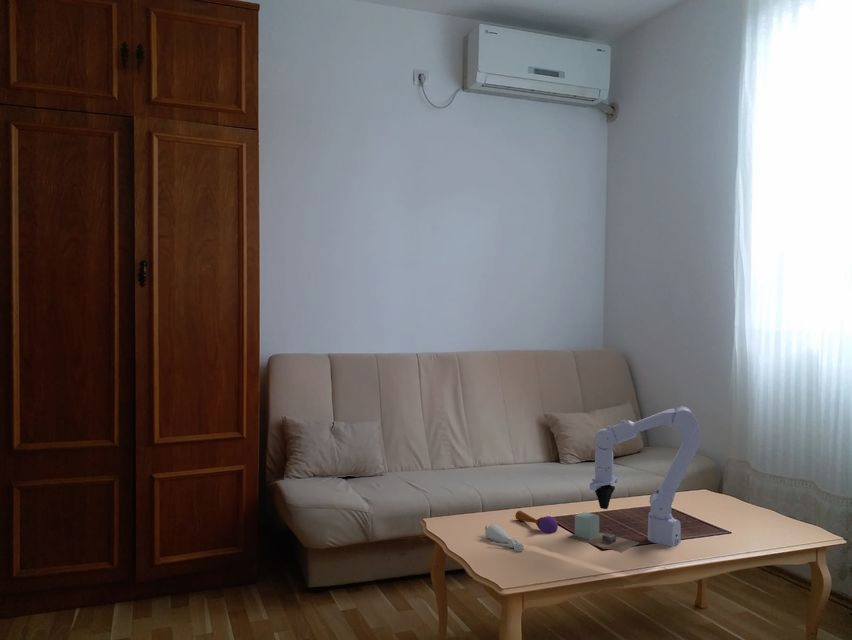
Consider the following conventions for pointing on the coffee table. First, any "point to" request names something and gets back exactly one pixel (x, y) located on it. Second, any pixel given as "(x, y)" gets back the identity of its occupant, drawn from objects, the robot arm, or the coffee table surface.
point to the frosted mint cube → (587, 525)
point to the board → (613, 546)
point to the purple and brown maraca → (539, 522)
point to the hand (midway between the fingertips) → (603, 508)
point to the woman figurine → (502, 537)
